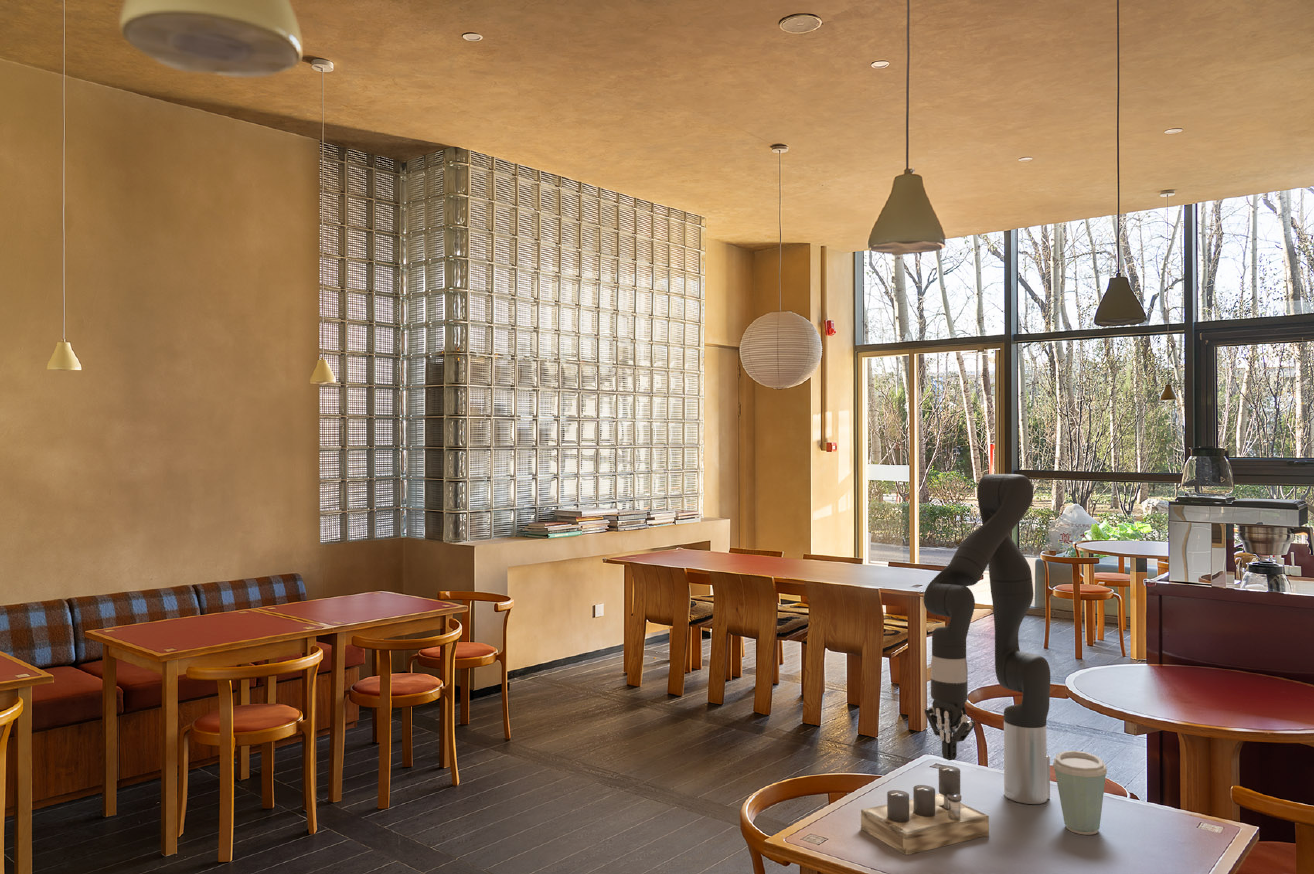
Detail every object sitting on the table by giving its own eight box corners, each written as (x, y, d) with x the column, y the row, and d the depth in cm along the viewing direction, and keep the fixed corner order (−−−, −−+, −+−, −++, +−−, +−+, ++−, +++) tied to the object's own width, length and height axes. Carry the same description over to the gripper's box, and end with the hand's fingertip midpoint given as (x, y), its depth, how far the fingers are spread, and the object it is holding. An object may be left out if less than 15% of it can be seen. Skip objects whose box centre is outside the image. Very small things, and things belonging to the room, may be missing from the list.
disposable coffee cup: (1115, 841, 185) (1114, 767, 185) (1059, 836, 187) (1058, 763, 187) (1100, 821, 195) (1099, 751, 195) (1047, 817, 197) (1047, 748, 198)
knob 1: (899, 827, 189) (899, 787, 189) (913, 835, 185) (913, 794, 185) (882, 830, 187) (882, 791, 187) (897, 838, 183) (897, 798, 183)
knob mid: (925, 821, 192) (924, 782, 192) (939, 829, 188) (939, 789, 188) (909, 825, 190) (908, 786, 190) (923, 832, 186) (923, 793, 186)
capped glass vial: (954, 814, 188) (954, 792, 188) (964, 819, 186) (964, 796, 186) (944, 817, 187) (944, 794, 187) (954, 821, 184) (954, 798, 184)
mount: (940, 811, 200) (940, 793, 200) (988, 835, 188) (988, 815, 188) (861, 828, 191) (861, 809, 191) (906, 854, 178) (906, 834, 178)
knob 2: (949, 801, 195) (949, 763, 195) (965, 808, 191) (964, 770, 191) (934, 805, 193) (934, 766, 193) (949, 812, 189) (949, 773, 190)
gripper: (985, 682, 189) (985, 766, 188) (940, 669, 201) (940, 747, 200) (958, 685, 185) (958, 771, 185) (914, 672, 197) (914, 752, 197)
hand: (949, 758), depth 192 cm, fingers closed
